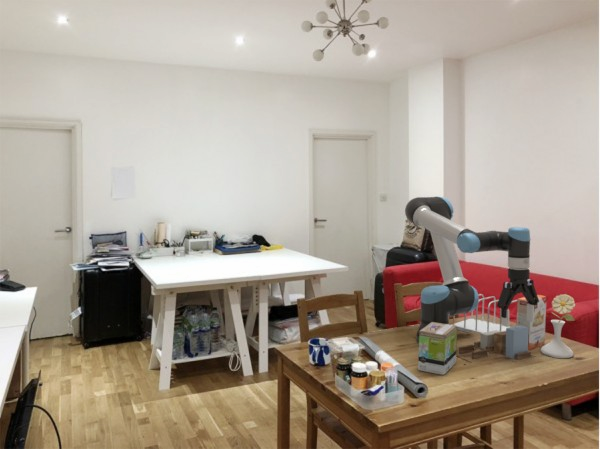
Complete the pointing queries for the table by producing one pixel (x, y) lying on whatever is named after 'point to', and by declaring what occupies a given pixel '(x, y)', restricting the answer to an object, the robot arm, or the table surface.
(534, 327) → the cracker box
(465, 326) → the file sorter
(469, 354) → the stand
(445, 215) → the robot arm
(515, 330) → the panel
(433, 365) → the tea box
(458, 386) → the table surface
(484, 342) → the offcut grey
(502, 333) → the offcut brown
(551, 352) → the flower in vase
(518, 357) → the rack
